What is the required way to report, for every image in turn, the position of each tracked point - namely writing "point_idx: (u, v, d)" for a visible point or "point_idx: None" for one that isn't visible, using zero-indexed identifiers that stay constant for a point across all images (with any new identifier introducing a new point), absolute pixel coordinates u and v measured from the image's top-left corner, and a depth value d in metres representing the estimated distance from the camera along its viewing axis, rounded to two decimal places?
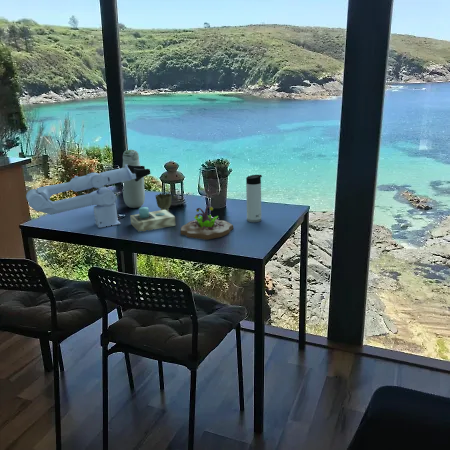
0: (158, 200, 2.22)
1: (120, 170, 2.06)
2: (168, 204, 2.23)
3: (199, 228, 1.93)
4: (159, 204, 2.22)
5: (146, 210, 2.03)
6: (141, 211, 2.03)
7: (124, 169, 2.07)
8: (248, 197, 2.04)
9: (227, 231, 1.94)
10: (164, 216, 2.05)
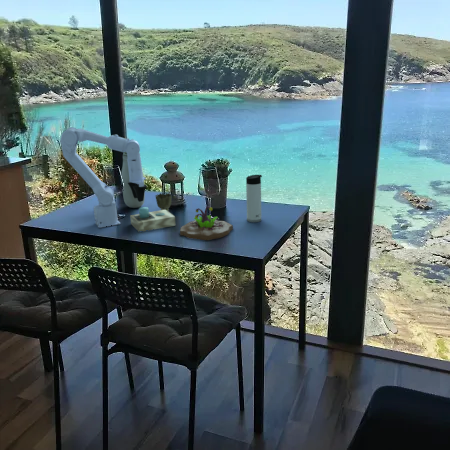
0: (158, 200, 2.22)
1: None
2: (168, 204, 2.23)
3: (199, 229, 1.92)
4: (159, 204, 2.22)
5: (146, 210, 2.03)
6: (141, 211, 2.03)
7: (142, 176, 2.07)
8: (248, 197, 2.04)
9: (227, 231, 1.93)
10: (164, 216, 2.05)
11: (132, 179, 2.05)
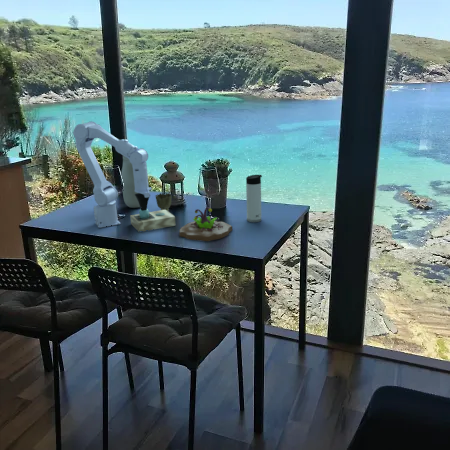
0: (158, 200, 2.22)
1: (147, 182, 2.00)
2: (168, 204, 2.23)
3: (198, 230, 1.91)
4: (159, 204, 2.22)
5: (146, 212, 2.03)
6: (141, 213, 2.03)
7: (148, 186, 2.01)
8: (248, 197, 2.04)
9: (226, 232, 1.92)
10: (164, 216, 2.05)
11: (137, 189, 1.99)
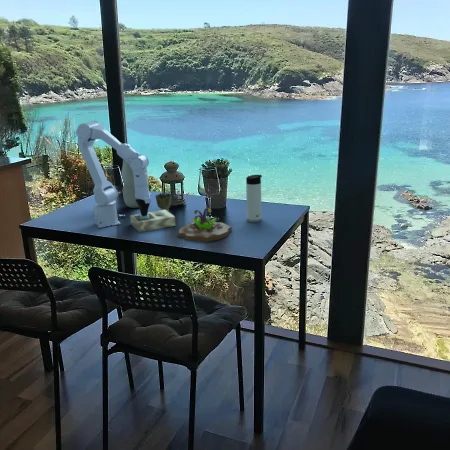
0: (158, 200, 2.22)
1: (148, 188, 2.01)
2: (168, 204, 2.23)
3: (197, 231, 1.90)
4: (159, 204, 2.22)
5: (147, 217, 2.04)
6: (142, 218, 2.04)
7: (148, 192, 2.02)
8: (248, 197, 2.04)
9: (226, 233, 1.92)
10: (164, 216, 2.05)
11: (138, 195, 2.00)
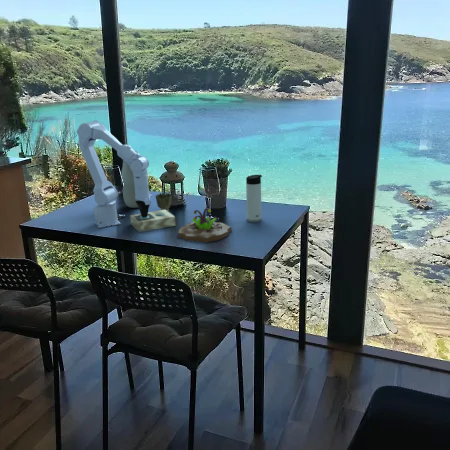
0: (158, 200, 2.22)
1: (148, 189, 2.01)
2: (168, 204, 2.23)
3: (197, 231, 1.90)
4: (159, 204, 2.22)
5: None
6: None
7: (148, 193, 2.02)
8: (248, 197, 2.04)
9: (226, 233, 1.91)
10: (164, 216, 2.05)
11: (138, 196, 2.00)
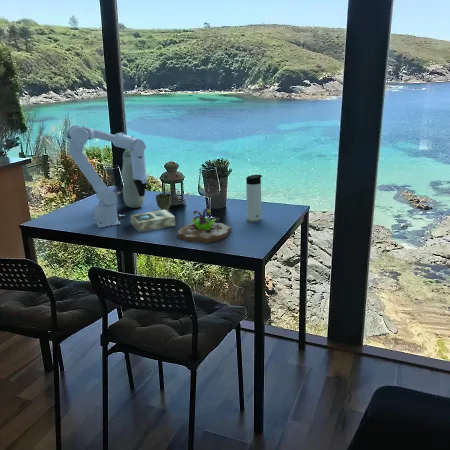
0: (158, 200, 2.22)
1: (145, 169, 2.12)
2: (168, 204, 2.23)
3: (197, 232, 1.89)
4: (159, 204, 2.22)
5: None
6: None
7: (145, 173, 2.12)
8: (248, 197, 2.04)
9: (225, 234, 1.91)
10: (164, 216, 2.05)
11: (135, 176, 2.10)
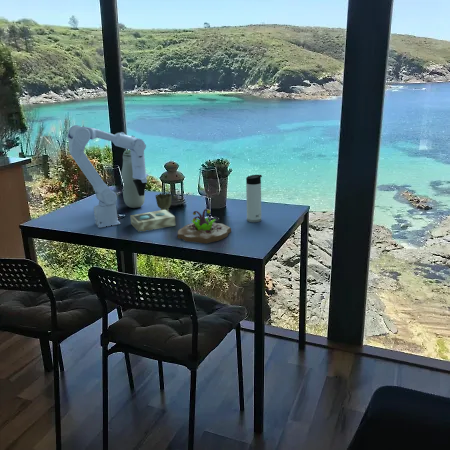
0: (158, 200, 2.22)
1: None
2: (168, 204, 2.23)
3: (197, 232, 1.89)
4: (159, 204, 2.22)
5: None
6: None
7: (145, 172, 2.13)
8: (248, 197, 2.04)
9: (225, 234, 1.90)
10: (164, 216, 2.05)
11: (135, 175, 2.11)
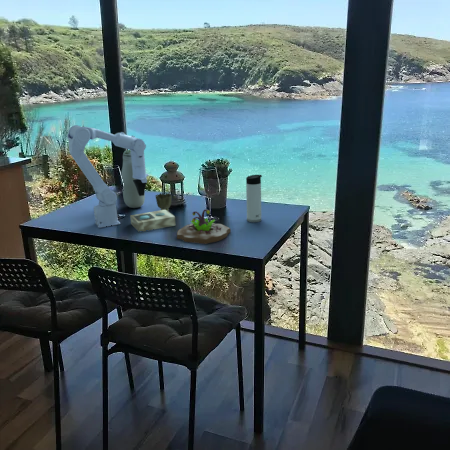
0: (158, 200, 2.22)
1: None
2: (168, 204, 2.23)
3: (196, 232, 1.88)
4: (159, 204, 2.22)
5: None
6: None
7: (145, 172, 2.13)
8: (248, 197, 2.04)
9: (225, 235, 1.90)
10: (164, 216, 2.05)
11: (135, 175, 2.11)
